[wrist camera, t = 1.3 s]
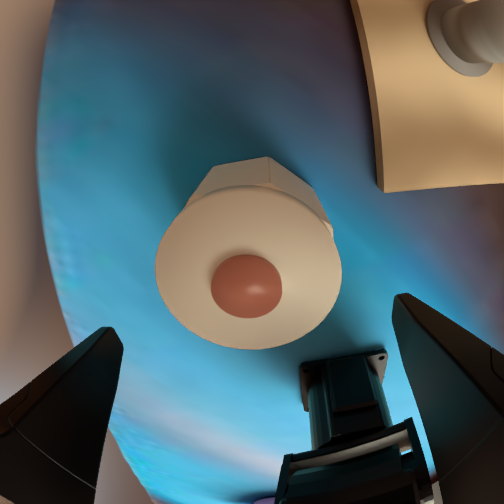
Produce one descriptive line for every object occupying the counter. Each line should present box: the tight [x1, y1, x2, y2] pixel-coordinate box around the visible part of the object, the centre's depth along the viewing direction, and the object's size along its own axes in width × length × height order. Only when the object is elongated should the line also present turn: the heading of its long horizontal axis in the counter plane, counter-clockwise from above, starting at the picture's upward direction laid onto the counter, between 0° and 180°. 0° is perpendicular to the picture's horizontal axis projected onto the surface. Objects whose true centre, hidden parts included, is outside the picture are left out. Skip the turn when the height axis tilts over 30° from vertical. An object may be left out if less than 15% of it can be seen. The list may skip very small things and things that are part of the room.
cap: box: [155, 156, 342, 350], centre depth 13 cm, size 7×7×6 cm
